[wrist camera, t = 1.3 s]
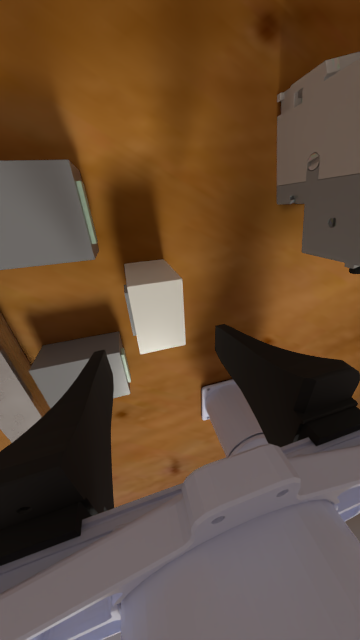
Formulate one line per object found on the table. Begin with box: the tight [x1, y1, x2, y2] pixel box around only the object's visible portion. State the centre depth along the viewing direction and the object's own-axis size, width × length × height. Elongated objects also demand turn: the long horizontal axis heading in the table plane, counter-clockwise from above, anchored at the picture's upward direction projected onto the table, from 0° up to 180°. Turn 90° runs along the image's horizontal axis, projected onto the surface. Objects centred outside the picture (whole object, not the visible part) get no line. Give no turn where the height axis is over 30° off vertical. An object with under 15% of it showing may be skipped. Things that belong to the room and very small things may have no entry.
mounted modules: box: [0, 160, 131, 408], centre depth 18 cm, size 8×21×4 cm, turn 3°
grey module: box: [124, 259, 186, 354], centre depth 19 cm, size 4×6×7 cm
